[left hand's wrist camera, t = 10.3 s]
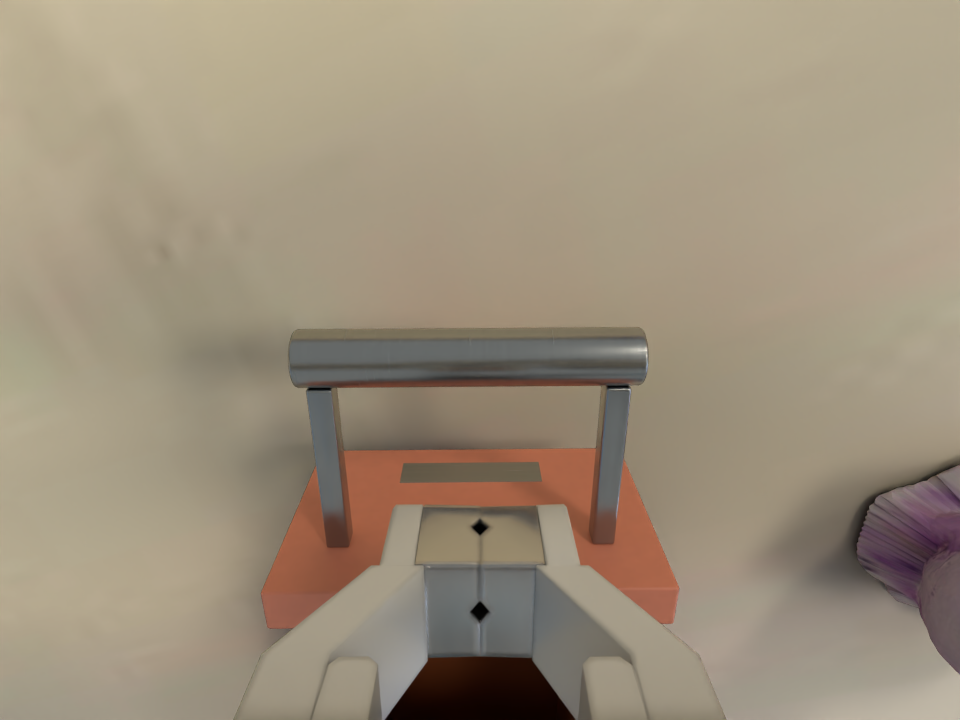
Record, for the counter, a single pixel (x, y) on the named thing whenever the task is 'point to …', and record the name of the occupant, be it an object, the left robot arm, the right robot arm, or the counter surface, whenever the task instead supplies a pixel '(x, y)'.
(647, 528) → the drawer
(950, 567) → the figurine
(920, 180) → the counter surface
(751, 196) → the counter surface
